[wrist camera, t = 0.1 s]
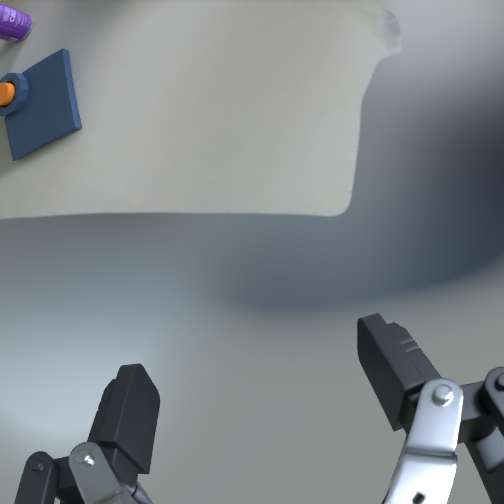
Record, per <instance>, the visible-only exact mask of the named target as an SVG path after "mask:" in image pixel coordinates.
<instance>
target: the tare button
mask: <svg viewBox="0 0 504 504" xmlns="http://www.w3.org/2000/svg"><path fill="white" fill-rule="evenodd" d="M14 95H15V87H14V85H13V84H12V83H0V106H5V105H8V104H10V103H11V101H12V100H13V98H14Z"/></svg>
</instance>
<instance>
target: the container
mask: <svg viewBox="0 0 504 504" xmlns="http://www.w3.org/2000/svg"><path fill="white" fill-rule="evenodd" d="M32 27H33V18H32V17H31V16H29V15H27V14H25V13H22V12H20V11H18V10H15V9H13V8H10V7H8V6H5V5H3V4H0V39H4V40H8V41H11V42H16V43H17V42H20V41H22V40H23V39H25V38H26V37H27V35H28V34H29V33H30V31H31V29H32Z"/></svg>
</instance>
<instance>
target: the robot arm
mask: <svg viewBox="0 0 504 504" xmlns="http://www.w3.org/2000/svg"><path fill="white" fill-rule="evenodd" d="M357 335H358V336H357V337H358V338H357V350H358V356H359V361H360V363H361V366H362V368H363V369H364V372H365V374H366V375H367V378H368V379H369V382H370V383H371V386H372V388H373V389H374V392H375V393H376V395H377V398H378V399H379V402H380V404H381V406H382V408H383V410H384V412H385V414H386V416H387V418H388V420H389V422H390V424H391V427H392V429H393V431H397V430H399V429H402V428H404V430H405V432H406V434H407V435H406V438H405V441H404V445H403V447H402V450H401V453H400V456H399V459H398V462H397V465H396V468H395V470H394V473H393V475H392V478H391V480H390V483H389V485H388V487H387V489H386V492H385V494H384V496H383V498H382V500H381V503H380V504H446V503H447V499H448V496H449V493H450V489H451V486H452V482H453V478H454V474H455V470H456V465H457V455H455V447H456V444H459V443H463V442H464V443H465V445H466V447H467V449H468V451H469V453H470V455H471V457H472V459H473V461H474V463H475V466H476V468H477V470H478V472H479V475H480V477H481V479H482V481H483V484H484V486H485V489H486V491H487V493H488V496H489V498H490V500H491V503H492V504H504V367H497V368H494V369H492V370H491V371H490V372H489V373H488V374H487V376H486V378H485V380H484V381H481V382H476V383H471V384H466V385H458V383H457V382H455V381H454V380H451V379H448V378H442V377H441V376H440V375H439V373H438V372H437V371H436V369H435V368H434V366H433V365H432V364H431V362H430V361H429V360H428V358H427V357H426V355H425V354H424V353H423V351H422V350H421V349H420V348H419V347H418V345H417V343H416V342H415V341H414V340H413V339H412V337H411V335H410V334H409V333H408V332H407V330H406V329H405V328H403V327H401V326H400V325H398V324H396V323H395V322H393V323H390V324H386V322H385V321H384V320H383V318H382V317H381V315H380V314H379V313H376V314H373V315H370V316H366V317H363V318H359V319H358V322H357ZM159 408H160V396H159V393H158V390H157V389H156V387H155V385H154V384H153V382H152V380H151V379H150V377H149V376H148V374H147V372H146V371H145V369H144V367H143V366H142V365H141V364H131V365H123V366H121V367H120V369H119V371H118V374H117V377H116V379H112V381H111V382H110V383H109V384H108V386H107V387H106V388H105V390H104V393H103V395H102V399H101V402H100V404H99V407H98V411H97V413H96V416H95V419H94V422H93V425H92V428H91V431H90V434H89V437H88V440H87V442H83V443H81V444H79V445H77V446H76V447H75V448H74V449H73V450H72V451H71V454H70V456H67V457H63V458H58V459H52V457H51V456H49V455H48V454H47V453H45V452H43V451H39V452H35V453H34V454H32V455H31V456H30V457H29V458H28V460H27V462H26V464H25V467H24V471H23V474H22V478H21V481H20V484H19V488H18V492H17V495H16V499H15V503H14V504H54V500H55V497H56V498H57V499H59V500H60V501H61V502H60V504H154V503H153V502H152V500H151V499H150V498H149V496H148V495H147V493H146V492H145V490H144V489H143V487H142V486H141V484H140V483H139V482H138V481H137V476H138V474H149V471H150V464H151V458H152V451H153V444H154V438H155V431H156V425H157V419H158V413H159Z"/></svg>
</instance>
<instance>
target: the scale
mask: <svg viewBox="0 0 504 504" xmlns="http://www.w3.org/2000/svg"><path fill="white" fill-rule="evenodd" d="M0 83H12V84H13V85H14V87H15V95H14V98H13V100H12V101H11V103H10V104H8V105H5V106H0V116H4V117H5V123H6V128H7V134H8V139H9V144H10V149H11V153H12V157H13V161H15V160H19V159H21V158H23V157H25V156H27V155H28V154H30V153H32V152H34V151H36V150H37V149H39V148H41V147H43V146H45V145H47V144H49V143H51V142H53V141H55V140H57V139H59V138H61V137H63V136H65V135H67V134H69V133H71V132H73V131H76V130H78V129H80V128H82V126H81V121H80V117H79V112H78V107H77V102H76V97H75V91H74V86H73V80H72V74H71V67H70V60H69V53H68V50H65V49H61V50H59V51H57V52H56V53H54V54H52V55H50V56H49V57H47V58H45V59H43V60H42V61H40V62H39V63H37V64H35V65H34V66H32V67H31V68H29V69H27V70H26V71H24V72H23V73H21V74H18V73H8V74H6V75H5V76H4V77H2V78H1V79H0Z"/></svg>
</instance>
